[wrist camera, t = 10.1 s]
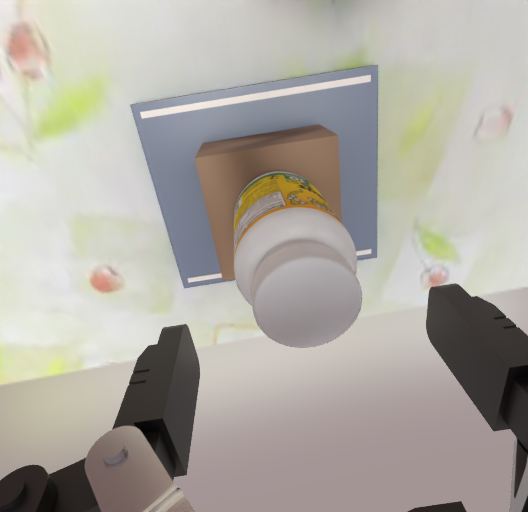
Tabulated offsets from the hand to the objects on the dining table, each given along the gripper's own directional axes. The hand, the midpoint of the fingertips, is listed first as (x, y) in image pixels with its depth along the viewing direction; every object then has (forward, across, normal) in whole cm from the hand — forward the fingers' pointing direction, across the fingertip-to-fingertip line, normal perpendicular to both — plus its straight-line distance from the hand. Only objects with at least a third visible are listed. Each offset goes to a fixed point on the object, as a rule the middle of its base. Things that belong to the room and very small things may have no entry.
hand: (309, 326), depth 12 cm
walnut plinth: (+16, 0, 0) cm, 16 cm away
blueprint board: (+17, 0, 0) cm, 17 cm away
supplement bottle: (+11, 0, 0) cm, 11 cm away
